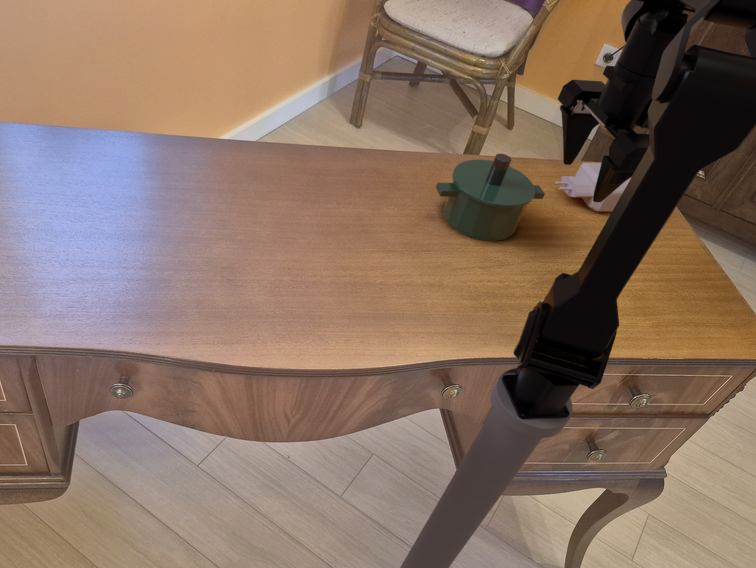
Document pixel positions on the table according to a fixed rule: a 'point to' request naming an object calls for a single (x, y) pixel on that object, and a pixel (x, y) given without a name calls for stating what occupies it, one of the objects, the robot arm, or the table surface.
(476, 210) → the pot
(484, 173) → the lid
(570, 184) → the charger
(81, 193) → the table surface
